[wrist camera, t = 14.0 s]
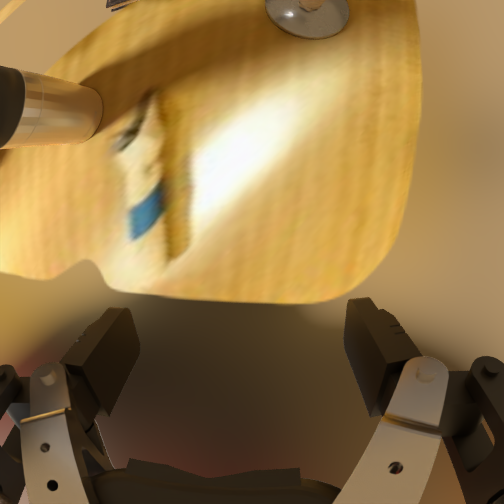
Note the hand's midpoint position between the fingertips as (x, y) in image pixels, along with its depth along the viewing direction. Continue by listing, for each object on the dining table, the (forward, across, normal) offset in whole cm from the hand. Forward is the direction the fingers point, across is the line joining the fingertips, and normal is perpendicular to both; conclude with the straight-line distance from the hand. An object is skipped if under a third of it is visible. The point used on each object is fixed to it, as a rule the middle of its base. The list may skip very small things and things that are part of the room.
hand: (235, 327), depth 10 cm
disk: (+30, -10, -29) cm, 43 cm away
